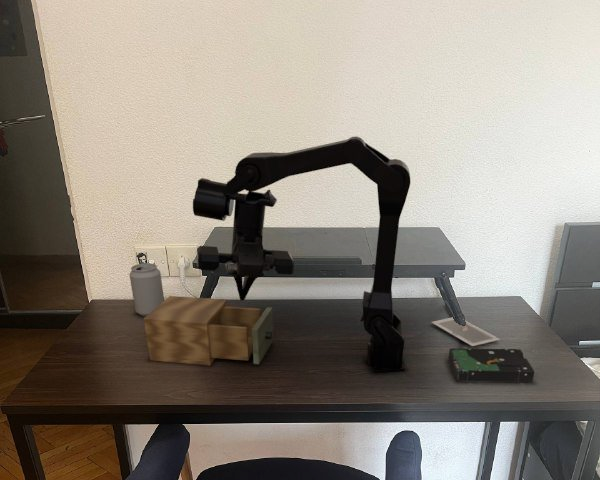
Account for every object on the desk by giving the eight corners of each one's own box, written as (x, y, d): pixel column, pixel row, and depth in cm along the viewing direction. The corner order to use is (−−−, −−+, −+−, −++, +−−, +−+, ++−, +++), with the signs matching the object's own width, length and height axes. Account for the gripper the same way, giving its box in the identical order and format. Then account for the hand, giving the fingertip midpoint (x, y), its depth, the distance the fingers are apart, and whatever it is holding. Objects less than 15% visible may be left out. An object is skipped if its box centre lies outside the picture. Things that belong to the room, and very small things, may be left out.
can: (142, 306, 152) (135, 261, 146) (169, 307, 151) (163, 262, 145) (131, 316, 145) (123, 270, 139) (159, 318, 144) (153, 271, 138)
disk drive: (517, 360, 122) (447, 359, 123) (520, 348, 121) (448, 347, 121) (532, 384, 113) (456, 382, 114) (535, 371, 112) (458, 370, 112)
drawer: (278, 340, 130) (277, 307, 126) (264, 365, 120) (263, 330, 116) (220, 336, 132) (217, 303, 129) (201, 359, 122) (198, 325, 118)
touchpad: (456, 320, 141) (457, 312, 140) (499, 343, 129) (501, 334, 128) (430, 326, 138) (431, 317, 137) (471, 350, 126) (473, 341, 125)
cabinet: (230, 339, 133) (226, 299, 128) (210, 365, 122) (206, 323, 117) (174, 334, 136) (169, 295, 131) (150, 360, 124) (143, 318, 119)
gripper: (201, 236, 101) (198, 316, 110) (304, 243, 106) (293, 319, 115) (197, 215, 110) (195, 291, 119) (293, 222, 115) (283, 295, 124)
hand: (241, 299), depth 119 cm, fingers closed
